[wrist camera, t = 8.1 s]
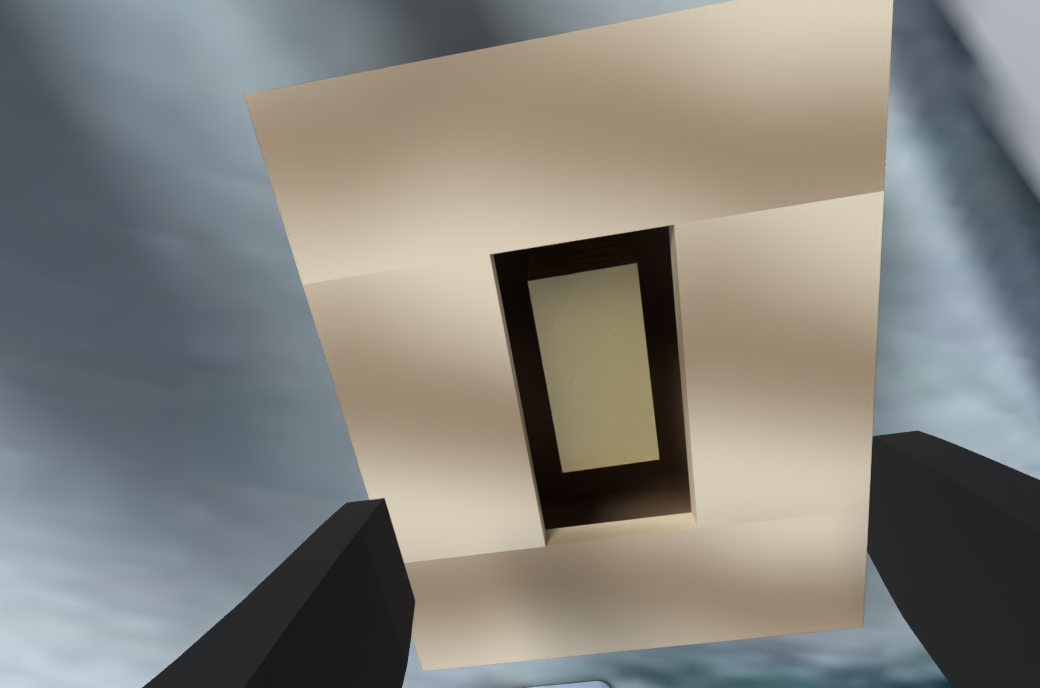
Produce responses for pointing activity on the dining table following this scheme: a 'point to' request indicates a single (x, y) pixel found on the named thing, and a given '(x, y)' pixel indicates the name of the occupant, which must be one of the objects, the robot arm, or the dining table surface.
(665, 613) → the box
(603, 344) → the tan wooden block
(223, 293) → the dining table surface
